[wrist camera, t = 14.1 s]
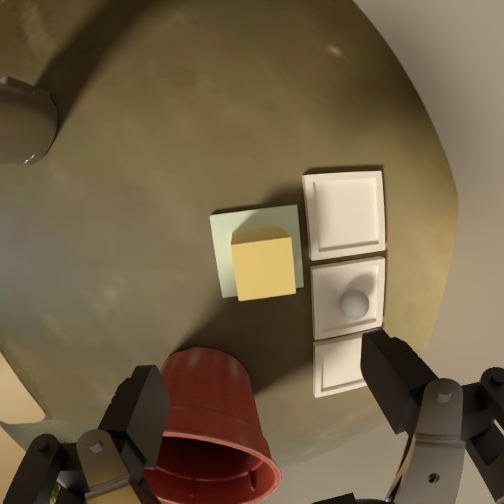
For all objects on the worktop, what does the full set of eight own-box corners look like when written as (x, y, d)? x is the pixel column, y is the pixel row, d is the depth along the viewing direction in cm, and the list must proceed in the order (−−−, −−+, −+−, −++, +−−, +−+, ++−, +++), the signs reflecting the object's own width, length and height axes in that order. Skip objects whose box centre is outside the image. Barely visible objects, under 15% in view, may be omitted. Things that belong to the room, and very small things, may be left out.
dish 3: (313, 341, 33) (315, 347, 32) (377, 328, 33) (380, 332, 32) (313, 392, 35) (315, 397, 34) (370, 378, 35) (373, 383, 34)
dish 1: (301, 175, 28) (304, 175, 27) (376, 171, 28) (381, 171, 27) (309, 257, 30) (311, 260, 29) (380, 247, 31) (385, 250, 29)
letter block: (232, 232, 29) (230, 244, 23) (281, 226, 29) (292, 237, 23) (238, 278, 30) (238, 301, 24) (285, 272, 30) (296, 293, 24)
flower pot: (281, 405, 36) (299, 497, 20) (181, 427, 36) (166, 510, 21) (241, 314, 32) (244, 416, 16) (125, 348, 32) (74, 434, 17)
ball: (335, 287, 31) (345, 299, 27) (362, 282, 31) (375, 293, 27) (335, 314, 32) (345, 328, 28) (361, 309, 32) (373, 321, 28)
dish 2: (309, 266, 31) (312, 269, 29) (380, 255, 31) (385, 258, 30) (312, 335, 33) (315, 340, 32) (377, 321, 33) (381, 326, 32)
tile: (210, 215, 29) (209, 215, 28) (295, 204, 29) (297, 205, 28) (222, 295, 31) (222, 297, 30) (302, 284, 31) (303, 287, 30)
